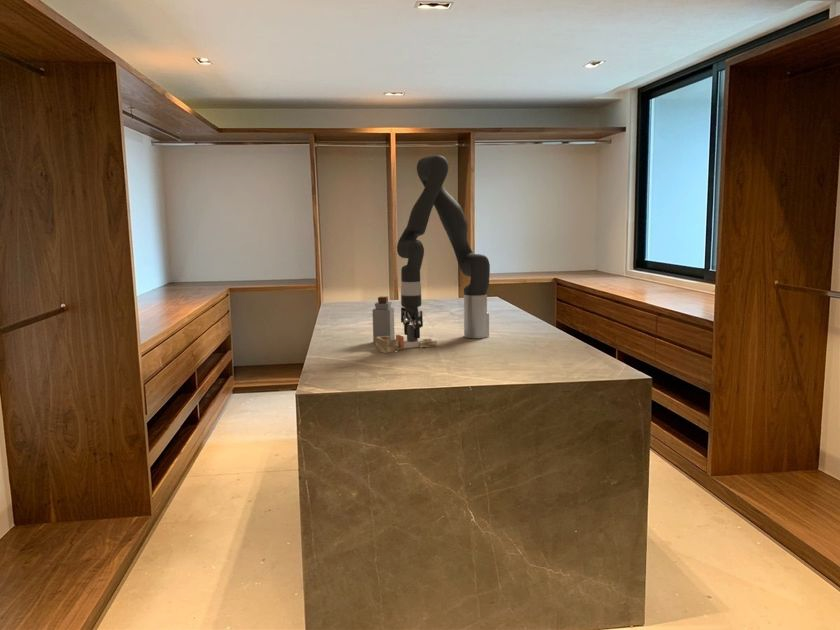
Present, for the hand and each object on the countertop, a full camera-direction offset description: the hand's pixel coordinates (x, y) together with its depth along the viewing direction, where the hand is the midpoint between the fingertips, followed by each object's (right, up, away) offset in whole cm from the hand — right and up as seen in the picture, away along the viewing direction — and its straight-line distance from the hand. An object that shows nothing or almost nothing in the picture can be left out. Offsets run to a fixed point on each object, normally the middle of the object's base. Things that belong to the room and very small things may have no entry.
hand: (411, 336), depth 242 cm
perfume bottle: (-11, -3, +10) cm, 15 cm away
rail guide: (+5, -4, +3) cm, 7 cm away
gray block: (0, -4, +1) cm, 4 cm away
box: (-9, -5, -4) cm, 11 cm away
